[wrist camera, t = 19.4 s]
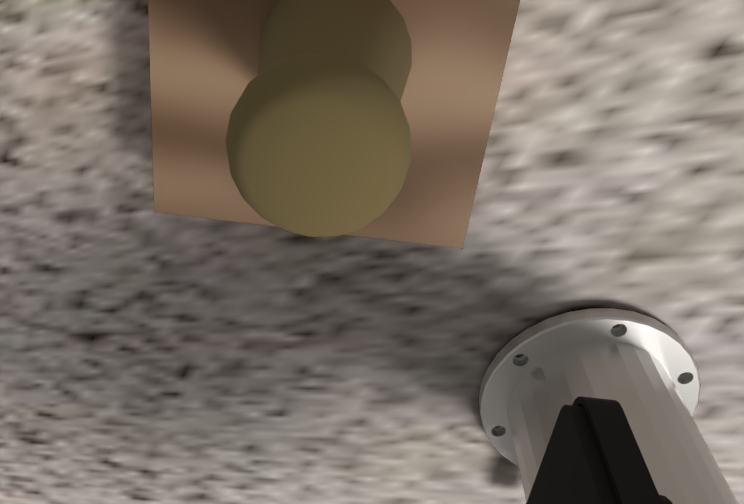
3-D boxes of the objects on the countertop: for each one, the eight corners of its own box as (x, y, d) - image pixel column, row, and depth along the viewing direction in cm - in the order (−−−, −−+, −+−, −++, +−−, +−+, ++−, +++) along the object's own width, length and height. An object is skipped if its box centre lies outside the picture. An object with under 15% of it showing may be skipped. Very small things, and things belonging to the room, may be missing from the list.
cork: (438, 85, 29) (468, 213, 19) (311, 153, 30) (280, 302, 21) (364, -56, 26) (357, 11, 16) (228, 26, 27) (150, 131, 18)
